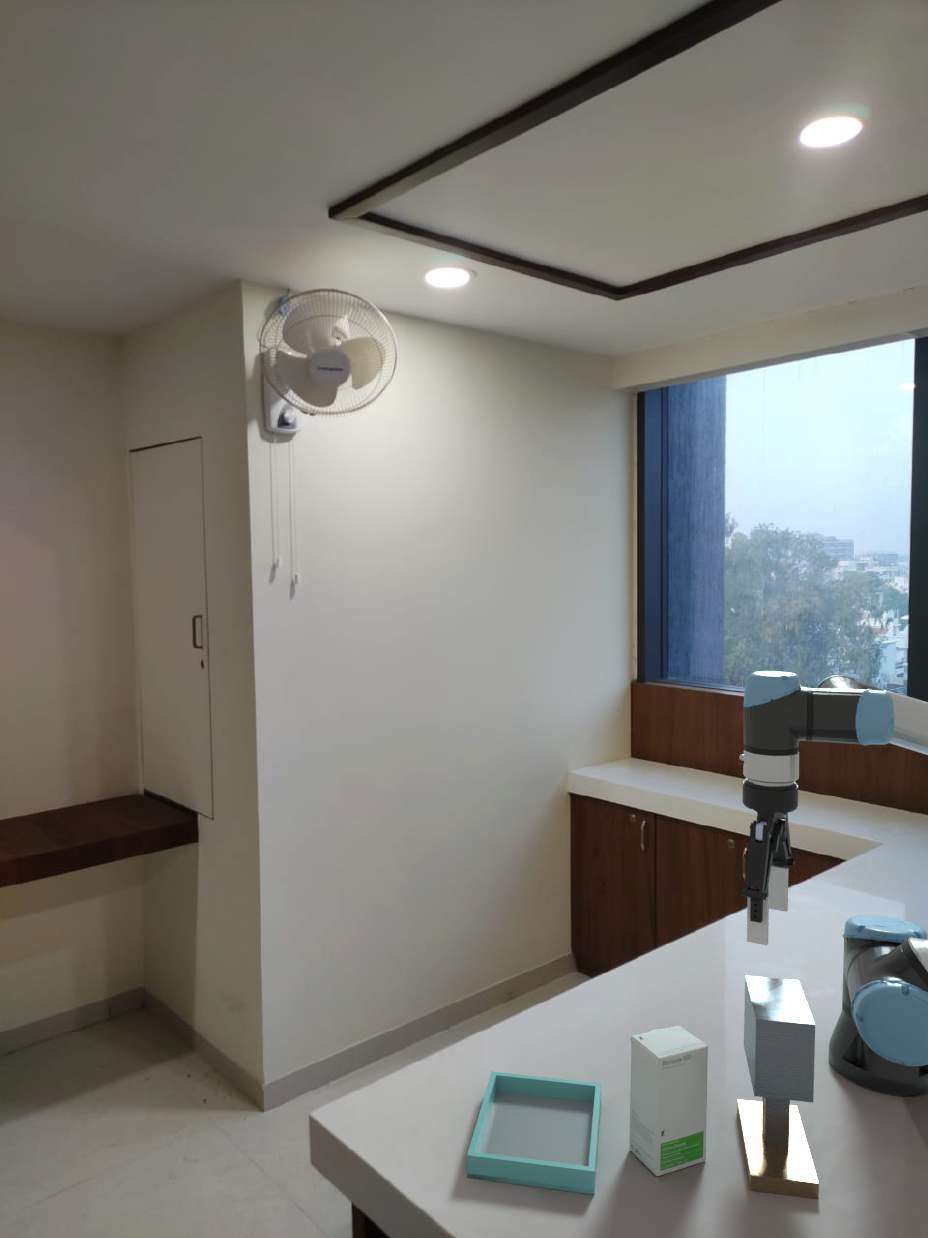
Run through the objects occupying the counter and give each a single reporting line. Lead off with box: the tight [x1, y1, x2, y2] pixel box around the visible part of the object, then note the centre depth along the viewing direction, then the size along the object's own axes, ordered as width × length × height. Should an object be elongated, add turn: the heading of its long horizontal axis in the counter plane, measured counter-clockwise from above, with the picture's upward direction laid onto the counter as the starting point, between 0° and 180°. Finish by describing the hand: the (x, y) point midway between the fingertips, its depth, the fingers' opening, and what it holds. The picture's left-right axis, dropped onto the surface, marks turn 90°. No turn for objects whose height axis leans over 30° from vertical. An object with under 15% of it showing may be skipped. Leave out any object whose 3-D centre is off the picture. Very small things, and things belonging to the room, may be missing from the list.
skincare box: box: [628, 1025, 709, 1177], centre depth 118 cm, size 8×7×16 cm
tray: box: [466, 1071, 602, 1195], centre depth 122 cm, size 16×19×3 cm
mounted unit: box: [736, 975, 820, 1200], centre depth 118 cm, size 8×16×21 cm, turn 169°
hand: (768, 925), depth 130 cm, fingers open, 13 cm apart
